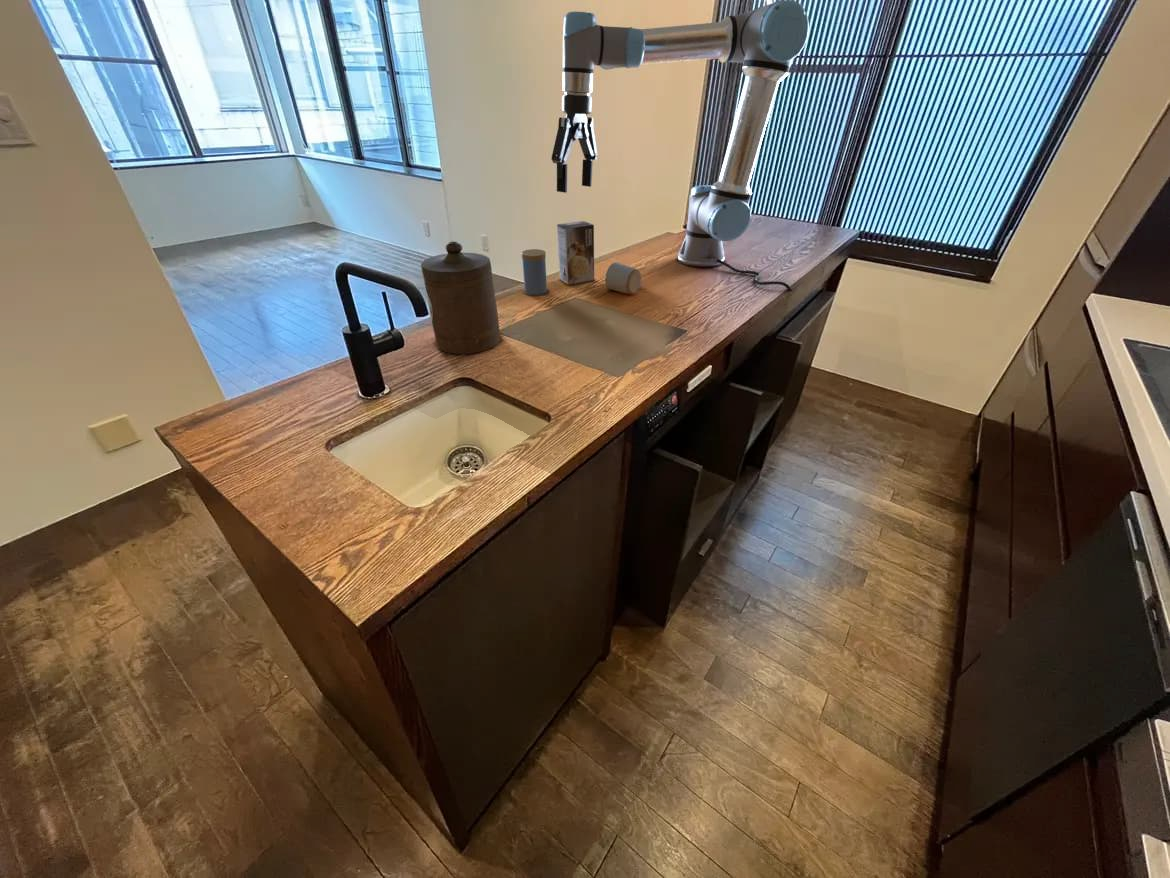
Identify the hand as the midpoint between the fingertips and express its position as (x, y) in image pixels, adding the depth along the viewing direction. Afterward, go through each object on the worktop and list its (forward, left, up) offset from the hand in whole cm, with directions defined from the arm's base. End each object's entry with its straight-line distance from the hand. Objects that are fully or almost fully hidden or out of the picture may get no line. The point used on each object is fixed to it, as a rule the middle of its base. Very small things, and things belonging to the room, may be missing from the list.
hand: (574, 189), depth 133 cm
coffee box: (0, -1, -25) cm, 25 cm away
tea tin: (+4, +15, -25) cm, 29 cm away
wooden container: (-5, +49, -25) cm, 56 cm away
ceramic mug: (-17, -1, -25) cm, 31 cm away
